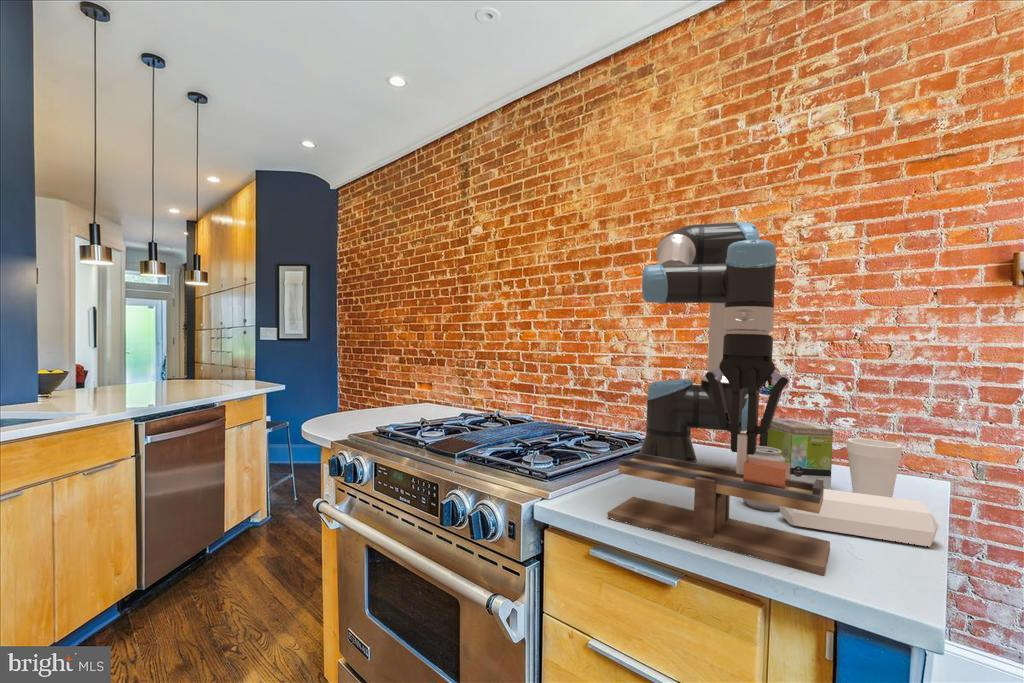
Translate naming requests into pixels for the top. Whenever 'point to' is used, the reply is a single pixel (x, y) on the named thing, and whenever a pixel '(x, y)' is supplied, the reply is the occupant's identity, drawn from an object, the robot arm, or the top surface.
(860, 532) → the crystal
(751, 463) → the terracotta wooden block
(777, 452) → the can
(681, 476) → the beam
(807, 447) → the tea box
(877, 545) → the top surface
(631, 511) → the stand
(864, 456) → the foam cup
